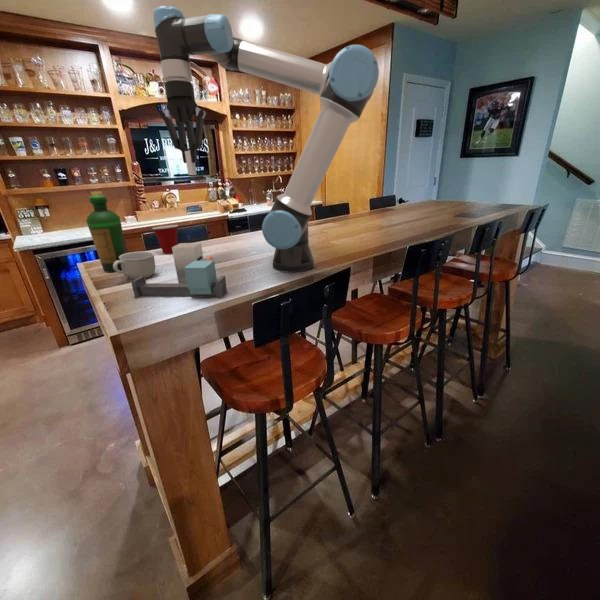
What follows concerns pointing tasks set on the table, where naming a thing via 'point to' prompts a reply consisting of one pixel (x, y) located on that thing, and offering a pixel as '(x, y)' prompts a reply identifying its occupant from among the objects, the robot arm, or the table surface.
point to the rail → (174, 289)
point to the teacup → (136, 264)
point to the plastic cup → (166, 237)
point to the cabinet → (185, 257)
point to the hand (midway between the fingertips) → (192, 174)
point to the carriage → (200, 276)
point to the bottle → (106, 232)
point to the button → (206, 259)
